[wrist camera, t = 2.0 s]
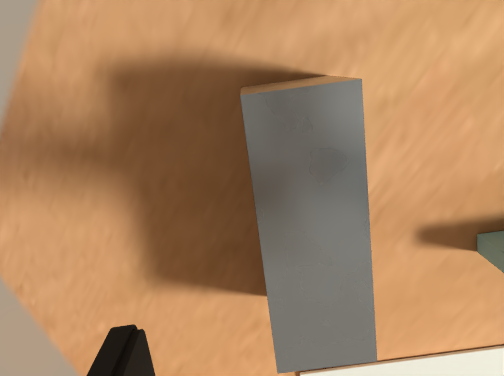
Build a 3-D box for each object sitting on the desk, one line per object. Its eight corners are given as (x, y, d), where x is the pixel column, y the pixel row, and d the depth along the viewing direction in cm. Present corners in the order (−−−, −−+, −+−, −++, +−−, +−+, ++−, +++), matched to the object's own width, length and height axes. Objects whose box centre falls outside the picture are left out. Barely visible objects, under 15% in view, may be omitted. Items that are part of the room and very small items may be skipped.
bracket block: (241, 87, 20) (240, 95, 14) (326, 75, 19) (361, 78, 14) (269, 295, 23) (277, 373, 17) (342, 285, 22) (377, 361, 17)
